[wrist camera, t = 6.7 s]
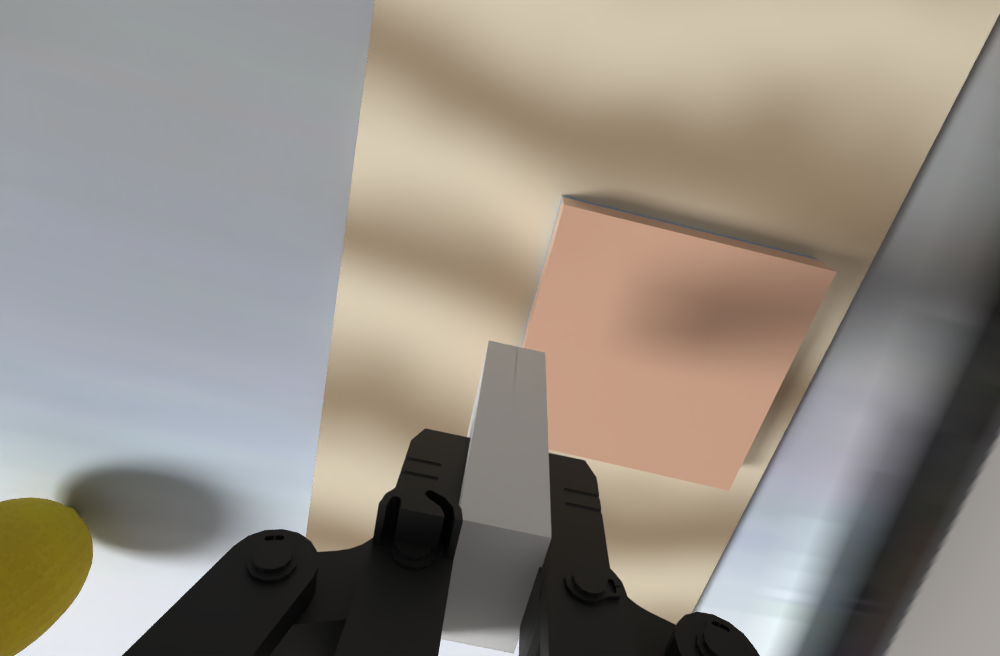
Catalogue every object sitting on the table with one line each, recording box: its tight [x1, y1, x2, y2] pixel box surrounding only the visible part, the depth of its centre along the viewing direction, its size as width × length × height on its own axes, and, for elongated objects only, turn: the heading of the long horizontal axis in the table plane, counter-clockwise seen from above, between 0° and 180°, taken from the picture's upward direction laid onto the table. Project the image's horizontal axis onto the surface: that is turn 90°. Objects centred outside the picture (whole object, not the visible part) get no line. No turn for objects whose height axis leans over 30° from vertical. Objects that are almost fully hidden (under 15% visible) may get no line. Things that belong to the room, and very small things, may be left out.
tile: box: [520, 195, 836, 491], centre depth 21 cm, size 9×2×9 cm
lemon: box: [0, 498, 93, 656], centre depth 24 cm, size 6×6×8 cm
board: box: [306, 0, 1000, 625], centre depth 22 cm, size 28×18×1 cm, turn 167°
